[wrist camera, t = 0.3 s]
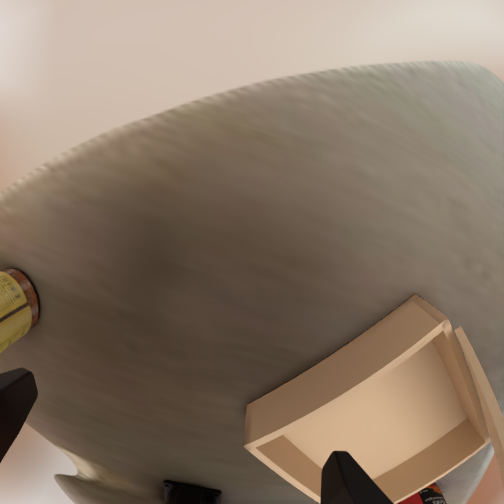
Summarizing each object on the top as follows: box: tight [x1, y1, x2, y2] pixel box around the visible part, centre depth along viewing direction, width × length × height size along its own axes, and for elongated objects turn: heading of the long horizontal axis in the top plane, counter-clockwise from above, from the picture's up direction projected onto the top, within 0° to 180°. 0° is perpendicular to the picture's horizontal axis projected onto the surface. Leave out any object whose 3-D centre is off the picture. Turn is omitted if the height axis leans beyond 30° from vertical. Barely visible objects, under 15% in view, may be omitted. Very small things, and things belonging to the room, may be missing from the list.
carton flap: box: [454, 326, 504, 486], centre depth 11 cm, size 12×16×1 cm
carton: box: [243, 294, 490, 504], centre depth 21 cm, size 16×18×5 cm
